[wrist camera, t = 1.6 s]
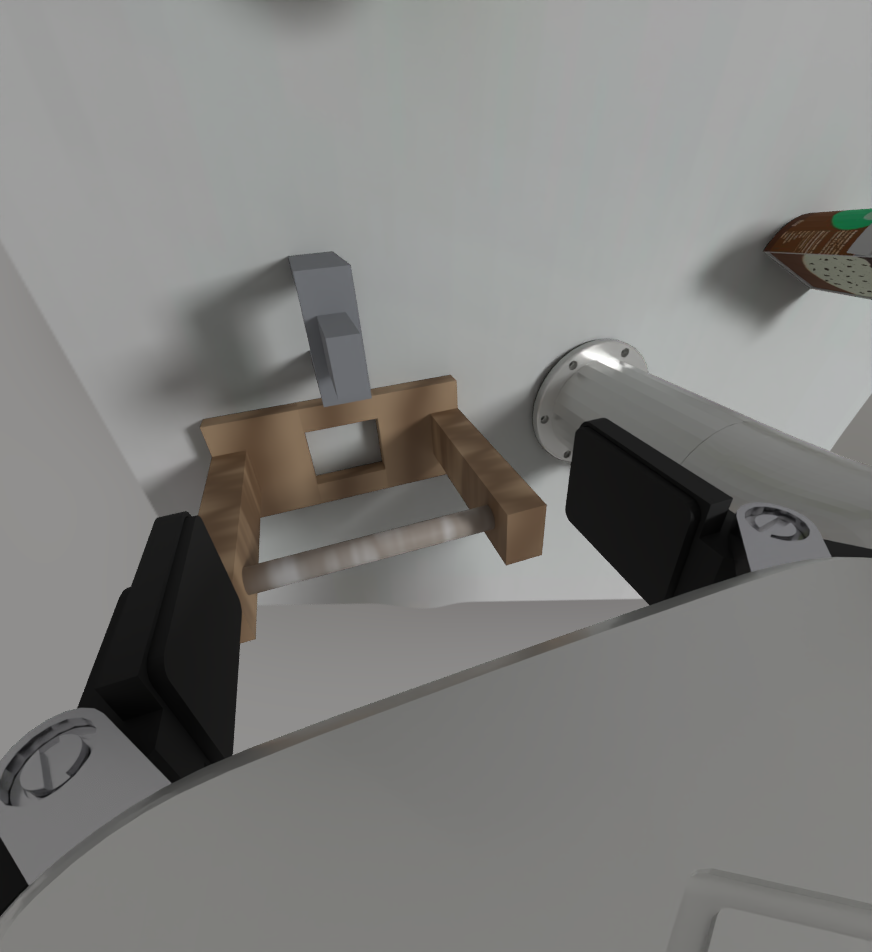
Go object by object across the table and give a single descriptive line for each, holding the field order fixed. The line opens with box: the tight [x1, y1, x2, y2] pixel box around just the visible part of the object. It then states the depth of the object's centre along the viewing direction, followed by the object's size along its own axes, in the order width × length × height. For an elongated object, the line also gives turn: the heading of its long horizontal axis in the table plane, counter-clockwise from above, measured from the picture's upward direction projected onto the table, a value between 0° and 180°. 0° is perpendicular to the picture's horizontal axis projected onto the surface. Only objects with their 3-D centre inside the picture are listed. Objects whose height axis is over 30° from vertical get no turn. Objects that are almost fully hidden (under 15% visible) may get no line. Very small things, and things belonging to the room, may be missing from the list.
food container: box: [763, 209, 872, 300], centre depth 37 cm, size 12×6×10 cm, turn 67°
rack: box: [198, 375, 547, 643], centre depth 31 cm, size 20×9×16 cm, turn 94°
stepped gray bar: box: [288, 252, 372, 407], centre depth 26 cm, size 8×3×14 cm, turn 4°
